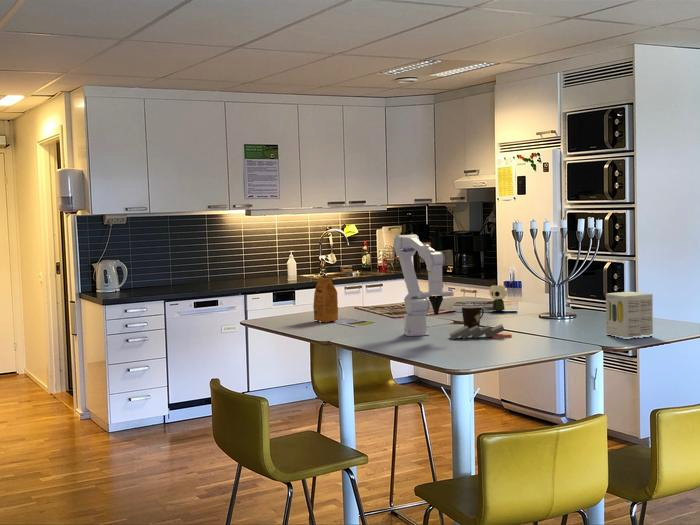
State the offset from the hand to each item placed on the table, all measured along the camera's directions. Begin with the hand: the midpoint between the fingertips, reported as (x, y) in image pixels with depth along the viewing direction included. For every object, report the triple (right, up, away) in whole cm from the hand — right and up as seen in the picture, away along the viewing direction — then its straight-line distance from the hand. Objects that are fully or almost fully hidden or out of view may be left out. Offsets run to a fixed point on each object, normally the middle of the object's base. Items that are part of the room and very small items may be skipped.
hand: (436, 314), depth 346 cm
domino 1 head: (+6, -9, +1) cm, 11 cm away
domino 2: (+15, -9, +2) cm, 18 cm away
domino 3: (+21, -9, +2) cm, 22 cm away
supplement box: (+77, -9, -7) cm, 78 cm away
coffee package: (-47, -8, +64) cm, 80 cm away
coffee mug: (+20, -8, +26) cm, 33 cm away
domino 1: (+11, -9, +2) cm, 14 cm away
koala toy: (+40, -4, +82) cm, 91 cm away
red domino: (+23, -9, +2) cm, 25 cm away
